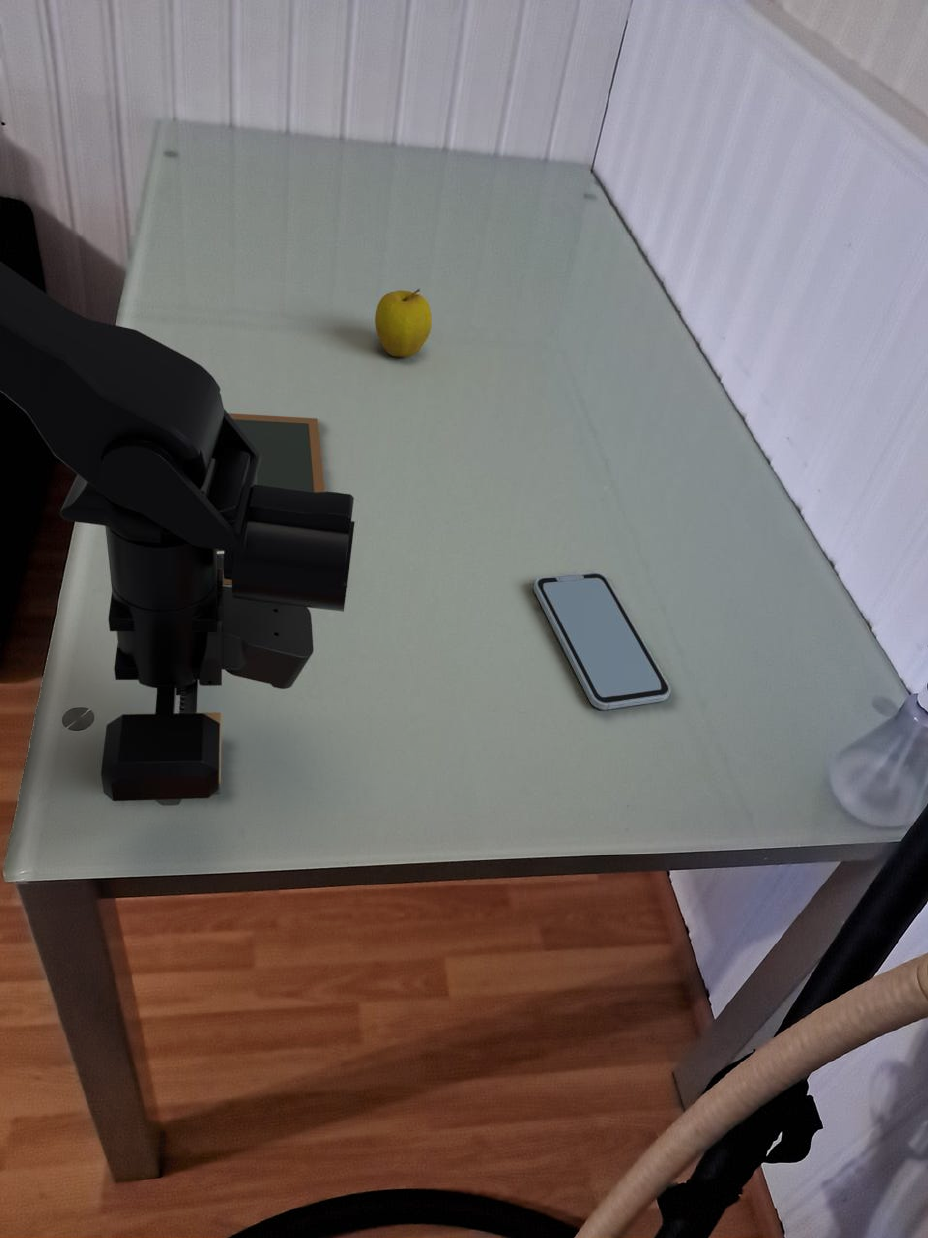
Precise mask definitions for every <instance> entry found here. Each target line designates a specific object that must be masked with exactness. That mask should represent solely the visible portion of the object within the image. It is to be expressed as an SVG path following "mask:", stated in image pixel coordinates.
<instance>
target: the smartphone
mask: <svg viewBox="0 0 928 1238" xmlns="http://www.w3.org/2000/svg"><path fill="white" fill-rule="evenodd" d="M533 591H534V593H535V595H536V597H537V599H538V602H539V603H540V605H541V607H542V609H543V611H544V613H545V615H546V618H547V619H548V621H549V623H550V626H551V627H552V629H553V631H554V633H555V635H556V638H557V639H558V641H559V643H560V645H561V647H562V650H563V651H564V653H565V655H566V657H567V659H568V661H569V663H570V665H571V666H572V669H573V671H574V673H575V674H576V677H577V680H578V681H579V682H580V685H581V687H582V689H583V691H584V693H585V694H586V697H587V698H588V700H589V702H590V704H591V705H592V706H593V707H595V708H596V709H599V710H603V711H604V710H612V709H613V710H614V709H619V708H620V709H621V708H625V707H632V706H639V705H647V704H652V703H659V702H664V701H666V700H667V699H668V697H669V696H670V694H671V691H672V689H671V686H670V684H669V682H668V681H667V678H666V677H665V674H664V673H663V672H662V670H661V668H660V666H659V665H658V662H657V661H656V659H655V658H654V656H653V653H651V651H650V649H649V647H648V646H647V644H646V642H645V641H644V638H643V637H642V636H641V634H640V632H639V630H638V629H637V627H636V625H635V623H634V621H633V620H632V618H631V616H630V614H629V613H628V611H627V609H626V608H625V606H624V604H623V602H622V601H621V599H620V597H619V595H618V594H617V592H616V590H615V589H614V587H613V585H612V584H611V582H610V580H609V578H608V577H607V576H606V575H605V574H603V573H601V572H597V571H592V572H582V573H570V574H562V575H561V574H559V575H549V576H541V577H538V578H537V579H536V580H535V582H534V585H533Z"/></svg>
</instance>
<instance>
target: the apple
mask: <svg viewBox="0 0 928 1238" xmlns="http://www.w3.org/2000/svg"><path fill="white" fill-rule="evenodd" d="M420 291H421V288H418V289H416V290H414V291H411V290H395V291H390V292H387V293H386V294H385V295H383V296H382V297H381V298H380V300H379V301H378V303H377V306H376V309H375V316H374V323H375V331H376V334H377V337H378V339H379V341H380V344H381V346H382V348H383V349H384V350H385V351H386V353H387V354H389V355H390V356H392V357H398V358H409V357H411V356H414V355H416V354H418V353H419V352H420V350H421V349H422V348H423V346H424V344H425V343H426V341H427V339H428V338H429V337H430V334H431V331H432V324H433V318H432V309H431V306H430V304H429V302H428V300H427V299H426V298H425V297H424V296H423V295H421V294H419V293H418V292H420Z"/></svg>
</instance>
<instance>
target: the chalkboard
mask: <svg viewBox="0 0 928 1238" xmlns="http://www.w3.org/2000/svg"><path fill="white" fill-rule="evenodd" d="M227 413H228V414H229V415H230V417H231V418H232V419H233V420H234V422H235V423H236V424H237V425H238V427H239V428H240V429H241V431H242V432H243V433H244V434H245V436H246V437H247V438H248V439H249V441H250V442H251V443H252V444H253V446H254V447H255V448H256V450H257V451H258V452H259V453H260V455H261V461H260V465H259V469H258V473H257V485H263V486H270V487H278V488H285V489H292V490H300V491H307V492H326V491H325V482H324V481H325V480H324V471H323V460H322V451H321V450H322V449H321V439H320V429H319V420H318V418H316V417H315V418H314V417H299V416H285V415H284V416H281V415H265V414H250V413H233V412H230V413H229V412H227ZM213 463H214V459H213V458H212V459H211V463H210V466H209V469H208V472H207V476H206V479H205V482H204V485H203V486H202V488H201V489H200V490H202V491H204V492H205V489H206V486H207V482H208V479H209V476H210V472H211V469H212V466H213ZM217 554H218V555H219V556H221V557H222V558H223V562H224V550H218V549H217ZM223 585H232V580H229V579H225V578H224V572H223Z"/></svg>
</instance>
